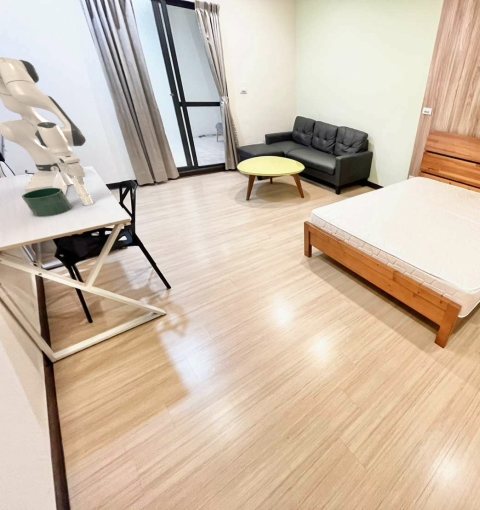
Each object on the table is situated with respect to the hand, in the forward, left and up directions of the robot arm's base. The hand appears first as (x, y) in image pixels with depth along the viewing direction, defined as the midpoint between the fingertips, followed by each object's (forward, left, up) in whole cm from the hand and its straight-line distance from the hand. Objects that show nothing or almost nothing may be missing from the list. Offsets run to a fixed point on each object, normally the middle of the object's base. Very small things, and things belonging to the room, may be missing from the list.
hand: (78, 182), depth 148 cm
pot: (-5, -15, -13) cm, 20 cm away
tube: (0, 0, -13) cm, 13 cm away
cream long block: (-29, -7, -13) cm, 32 cm away
